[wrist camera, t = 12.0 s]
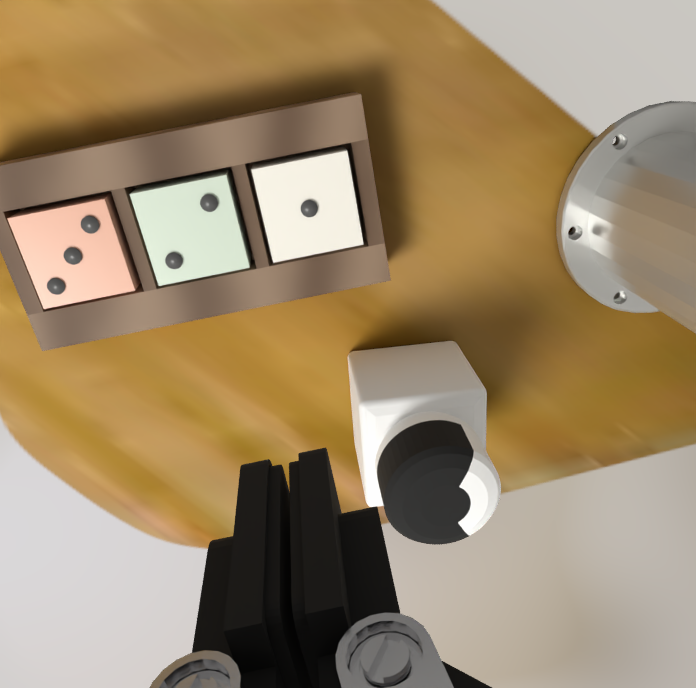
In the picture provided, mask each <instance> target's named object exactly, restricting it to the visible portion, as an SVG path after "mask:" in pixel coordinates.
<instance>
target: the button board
mask: <svg viewBox="0 0 696 688" xmlns="http://www.w3.org/2000/svg"><path fill="white" fill-rule="evenodd" d="M338 146H344V147H345V148H346V150H347V152H348V158H349V163H350V169H351V175H352V181H353V186H354V192H355V198H356V204H357V209H358V215H359V221H360V227H361V232H362V238H363V244H364V245H359V246H354V247H349V248H344V249H339V250H334V251H329V252H324V253H319V254H314V255H309V256H304V257H299V258H294V259H289V260H284V261H280V262H275V263H273V260H272V255H271V251H270V247H269V243H268V238H267V234H266V230H265V226H264V222H263V217H262V213H261V209H260V205H259V200H258V196H257V192H256V188H255V184H254V179H253V175H252V171H251V169H252V166H253V163H257V162H262V161H268V160H273V159H278V158H283V157H288V156H293V155H298V154H303V153H308V152H313V151H318V150H323V149H328V148H333V147H338ZM228 168H230V171H231V175H232V179H233V183H234V187H235V191H236V195H237V199H238V203H239V207H240V211H241V215H242V219H243V223H244V227H245V231H246V235H247V239H248V243H249V247H250V251H251V255H252V256H251V263H250V268H246V269H241V270H236V271H231V272H226V273H221V274H216V275H211V276H206V277H201V278H196V279H191V280H186V281H181V282H176V283H171V284H166V285H161V286H159V285H158V282H157V279H156V276H155V273H154V269H153V266H152V263H151V260H150V257H149V254H148V251H147V248H146V244H145V241H144V238H143V235H142V232H141V229H140V226H139V222H138V219H137V216H136V213H135V210H134V207H133V204H132V200H131V197H130V193H132V192H133V191H134V190H135V189H136V188H138V187H139V186H142V185H147V184H152V183H157V182H162V181H168V180H173V179H178V178H183V177H188V176H193V175H198V174H203V173H208V172H213V171H218V170H223V169H228ZM107 192H111V193H112V196H113V199H114V202H115V205H116V208H117V211H118V214H119V217H120V220H121V223H122V226H123V229H124V232H125V235H126V238H127V241H128V244H129V247H130V250H131V253H132V256H133V259H134V262H135V266H136V269H137V272H138V275H139V278H140V281H141V283H140V284H139V286H138V287H137V289H136V290H135V291H131V292H126V293H121V294H116V295H111V296H106V297H101V298H96V299H91V300H86V301H81V302H76V303H71V304H67V305H62V306H57V307H52V308H47V309H44V308H43V306H42V303H41V301H40V298H39V296H38V293H37V291H36V289H35V286H34V284H33V281H32V279H31V276H30V274H29V271H28V269H27V266H26V264H25V261H24V259H23V256H22V254H21V251H20V249H19V246H18V244H17V241H16V239H15V237H14V234H13V232H12V229H11V227H10V224H9V222H8V219H7V218H9V217H11V216H13V215H15V214H16V213H18V212H20V211H22V210H24V209H27V208H32V207H37V206H42V205H47V204H52V203H57V202H62V201H67V200H72V199H77V198H82V197H87V196H92V195H97V194H102V193H107ZM0 251H1V253H2V256H3V258H4V261H5V263H6V265H7V268H8V270H9V273H10V275H11V277H12V280H13V282H14V284H15V287H16V289H17V292H18V294H19V296H20V299H21V301H22V304H23V306H24V308H25V311H26V313H27V316H28V318H29V320H30V323H31V325H32V328H33V330H34V332H35V335H36V337H37V340H38V342H39V344H40V347H41V349H42V351H45V350H50V349H55V348H60V347H65V346H70V345H75V344H80V343H85V342H90V341H95V340H100V339H104V338H109V337H114V336H119V335H124V334H129V333H134V332H139V331H144V330H149V329H154V328H159V327H164V326H169V325H174V324H179V323H183V322H188V321H193V320H198V319H203V318H208V317H213V316H218V315H223V314H228V313H233V312H238V311H243V310H248V309H253V308H257V307H262V306H267V305H272V304H277V303H282V302H287V301H292V300H297V299H302V298H307V297H312V296H317V295H322V294H327V293H332V292H336V291H341V290H346V289H351V288H356V287H361V286H366V285H371V284H376V283H381V282H386V281H391V279H390V273H389V267H388V260H387V254H386V248H385V242H384V235H383V229H382V223H381V217H380V210H379V204H378V198H377V191H376V185H375V179H374V173H373V166H372V160H371V154H370V148H369V141H368V135H367V129H366V122H365V116H364V110H363V104H362V97H361V94H359V93H356V92H352V93H347V94H342V95H337V96H332V97H327V98H322V99H317V100H312V101H307V102H302V103H297V104H292V105H287V106H282V107H277V108H271V109H266V110H261V111H256V112H251V113H246V114H241V115H236V116H231V117H226V118H221V119H216V120H211V121H206V122H201V123H196V124H191V125H186V126H181V127H176V128H170V129H165V130H160V131H155V132H150V133H145V134H140V135H135V136H130V137H125V138H120V139H115V140H110V141H105V142H100V143H95V144H90V145H85V146H80V147H75V148H69V149H64V150H59V151H54V152H49V153H44V154H39V155H34V156H29V157H24V158H19V159H14V160H9V161H4V162H0Z"/></svg>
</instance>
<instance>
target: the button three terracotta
mask: <svg viewBox="0 0 696 688" xmlns="http://www.w3.org/2000/svg"><path fill="white" fill-rule="evenodd" d="M7 219H8V222H9V224H10V227H11V229H12V232H13V234H14V237H15V239H16V241H17V244H18V246H19V249H20V251H21V254H22V256H23V259H24V261H25V264H26V266H27V269H28V271H29V274H30V276H31V279H32V281H33V284H34V286H35V289H36V291H37V293H38V296H39V298H40V301H41V303H42V306H43V308H44V309H47V308H52V307H57V306H62V305H67V304H71V303H76V302H81V301H86V300H91V299H96V298H101V297H106V296H111V295H116V294H121V293H126V292H131V291H135V290H136V289H137V287H138V286H139V284H140V283H141V281H140V278H139V275H138V272H137V269H136V266H135V262H134V259H133V256H132V253H131V250H130V247H129V244H128V241H127V238H126V235H125V232H124V229H123V226H122V223H121V220H120V217H119V214H118V211H117V208H116V205H115V202H114V199H113V196H112V193H111V192H107V193H102V194H97V195H92V196H87V197H82V198H77V199H72V200H67V201H62V202H57V203H52V204H47V205H42V206H37V207H32V208H27V209H24V210H22V211H20V212H18V213H16V214H15V215H13V216H11V217H9V218H7Z"/></svg>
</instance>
